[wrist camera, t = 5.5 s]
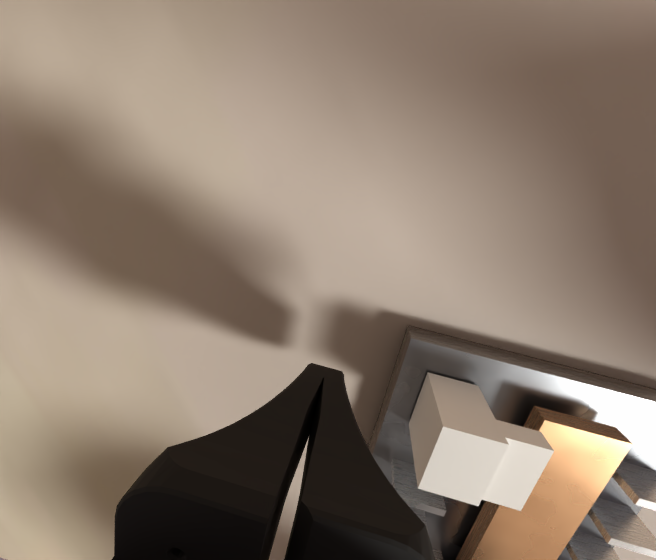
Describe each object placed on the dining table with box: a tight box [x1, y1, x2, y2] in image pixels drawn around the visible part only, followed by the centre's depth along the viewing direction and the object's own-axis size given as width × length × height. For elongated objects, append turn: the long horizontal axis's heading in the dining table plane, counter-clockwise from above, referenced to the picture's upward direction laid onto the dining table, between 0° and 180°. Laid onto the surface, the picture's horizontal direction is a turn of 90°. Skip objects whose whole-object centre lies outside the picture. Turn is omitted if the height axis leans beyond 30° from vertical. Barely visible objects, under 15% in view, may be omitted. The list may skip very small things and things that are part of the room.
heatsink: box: [368, 326, 656, 560], centre depth 14 cm, size 11×13×3 cm
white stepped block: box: [409, 372, 554, 511], centre depth 11 cm, size 4×3×3 cm
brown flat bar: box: [456, 405, 633, 560], centre depth 13 cm, size 4×11×1 cm, turn 168°
